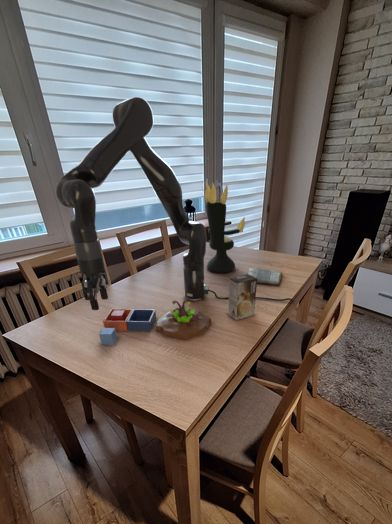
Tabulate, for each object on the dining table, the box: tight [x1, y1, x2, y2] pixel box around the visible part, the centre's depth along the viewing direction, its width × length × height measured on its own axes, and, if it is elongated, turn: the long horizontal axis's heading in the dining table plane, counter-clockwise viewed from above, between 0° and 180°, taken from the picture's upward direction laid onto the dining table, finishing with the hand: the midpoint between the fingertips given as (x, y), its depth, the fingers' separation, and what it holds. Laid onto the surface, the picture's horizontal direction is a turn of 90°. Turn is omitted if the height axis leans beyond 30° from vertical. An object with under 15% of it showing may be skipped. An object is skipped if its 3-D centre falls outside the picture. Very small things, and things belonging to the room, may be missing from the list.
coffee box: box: [227, 273, 258, 321], centre depth 111 cm, size 9×6×16 cm
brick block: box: [111, 310, 126, 321], centre depth 110 cm, size 4×4×4 cm
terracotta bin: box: [102, 308, 134, 332], centre depth 110 cm, size 9×11×4 cm
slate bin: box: [127, 308, 157, 332], centre depth 110 cm, size 9×11×4 cm
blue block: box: [98, 327, 118, 346], centre depth 100 cm, size 4×4×4 cm
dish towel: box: [247, 267, 283, 286], centre depth 149 cm, size 19×18×3 cm
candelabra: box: [204, 182, 246, 274], centre depth 149 cm, size 19×22×45 cm
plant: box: [155, 299, 212, 340], centre depth 106 cm, size 20×20×11 cm
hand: (100, 304), depth 93 cm, fingers open, 8 cm apart
